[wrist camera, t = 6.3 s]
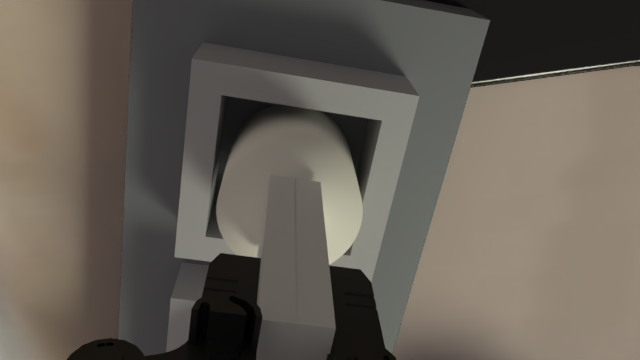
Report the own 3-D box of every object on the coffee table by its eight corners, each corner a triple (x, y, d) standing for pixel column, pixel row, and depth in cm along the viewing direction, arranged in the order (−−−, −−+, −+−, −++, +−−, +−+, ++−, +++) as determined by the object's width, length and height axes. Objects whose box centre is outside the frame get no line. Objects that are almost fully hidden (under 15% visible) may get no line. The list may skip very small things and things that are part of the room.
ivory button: (237, 94, 20) (224, 135, 16) (362, 114, 20) (377, 157, 17) (223, 206, 22) (209, 265, 18) (338, 222, 22) (347, 282, 19)
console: (154, -51, 21) (113, -39, 16) (466, 7, 23) (514, 33, 18) (123, 497, 34) (94, 597, 29) (326, 513, 35) (332, 611, 30)
